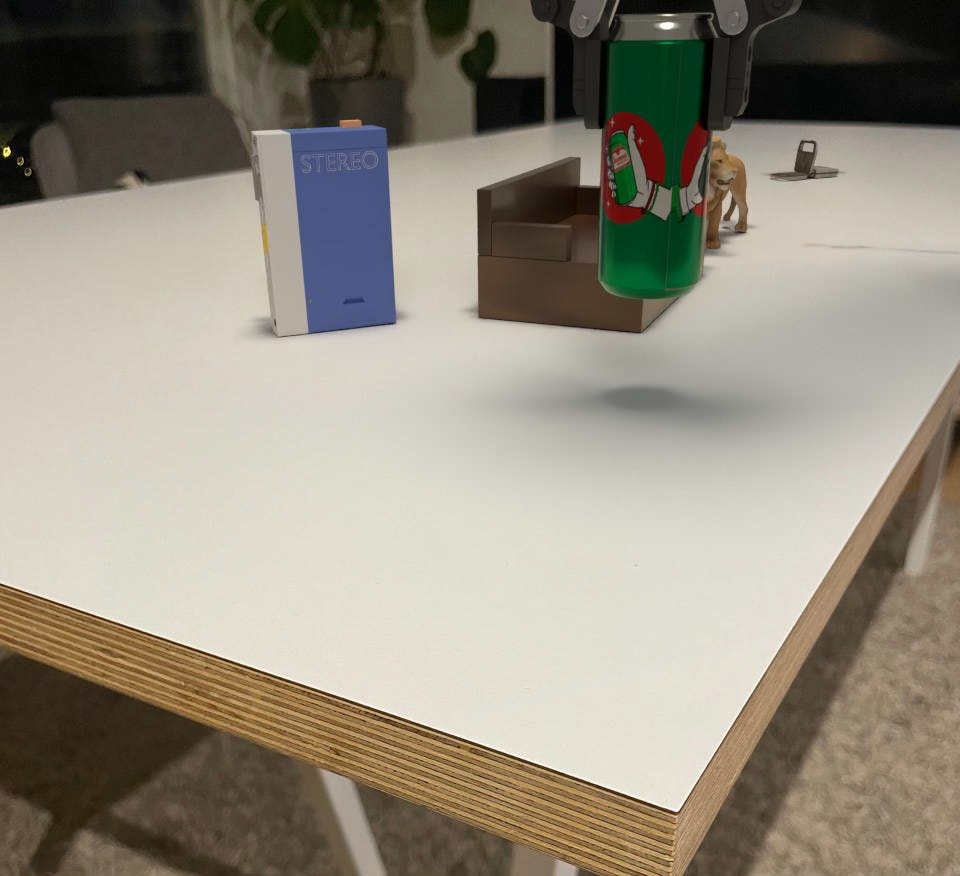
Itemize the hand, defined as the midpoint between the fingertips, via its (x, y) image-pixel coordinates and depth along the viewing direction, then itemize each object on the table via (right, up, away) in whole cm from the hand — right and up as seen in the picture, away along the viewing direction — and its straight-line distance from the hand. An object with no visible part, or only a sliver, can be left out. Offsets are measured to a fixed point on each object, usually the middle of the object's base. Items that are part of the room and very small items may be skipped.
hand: (656, 126), depth 48 cm
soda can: (0, -7, +4) cm, 8 cm away
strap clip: (+31, +27, +78) cm, 88 cm away
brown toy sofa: (0, -1, +26) cm, 26 cm away
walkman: (-18, -5, +19) cm, 27 cm away
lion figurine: (+12, +8, +43) cm, 45 cm away
